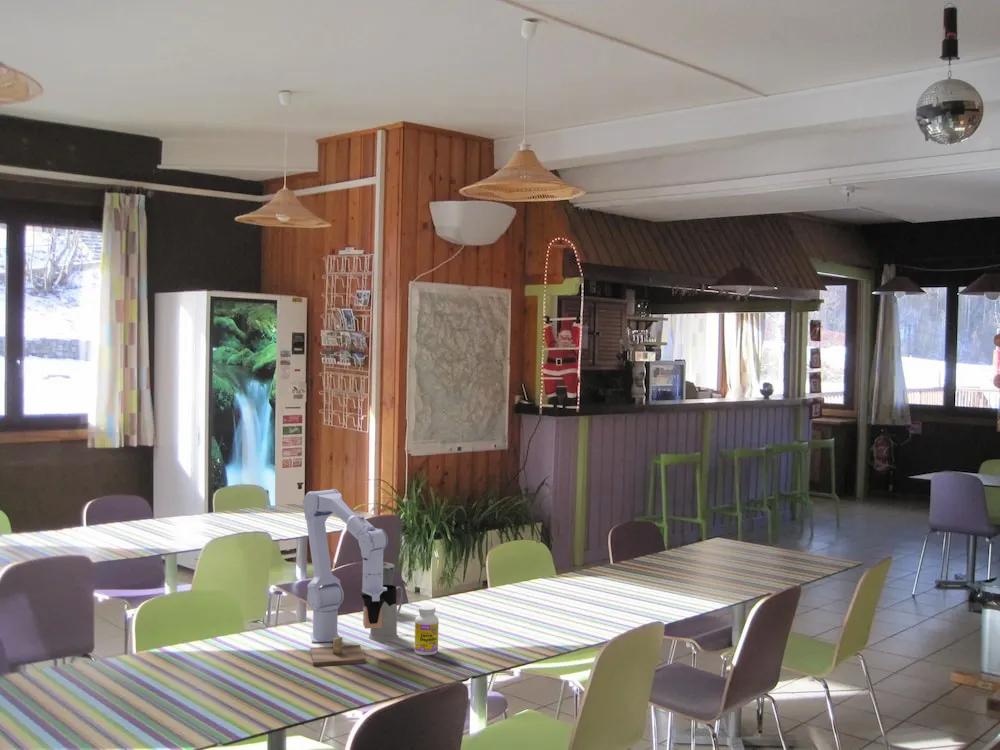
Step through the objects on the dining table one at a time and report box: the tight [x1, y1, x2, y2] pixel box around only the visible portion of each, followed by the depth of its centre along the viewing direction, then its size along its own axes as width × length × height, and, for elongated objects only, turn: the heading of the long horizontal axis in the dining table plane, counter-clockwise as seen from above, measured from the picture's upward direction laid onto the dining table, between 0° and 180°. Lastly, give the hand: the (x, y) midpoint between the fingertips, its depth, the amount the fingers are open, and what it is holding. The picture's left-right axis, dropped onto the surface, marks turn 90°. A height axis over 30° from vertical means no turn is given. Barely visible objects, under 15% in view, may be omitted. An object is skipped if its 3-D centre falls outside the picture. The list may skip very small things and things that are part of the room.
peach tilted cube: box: [362, 606, 382, 629], centre depth 273 cm, size 5×5×5 cm
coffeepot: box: [383, 556, 396, 586], centre depth 323 cm, size 15×9×18 cm, turn 44°
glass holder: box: [368, 584, 404, 642], centre depth 293 cm, size 9×14×15 cm, turn 152°
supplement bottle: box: [414, 605, 439, 656], centre depth 275 cm, size 7×7×13 cm
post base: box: [310, 636, 366, 667], centre depth 270 cm, size 14×14×5 cm
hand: (372, 620), depth 273 cm, fingers closed on peach tilted cube, 5 cm apart
